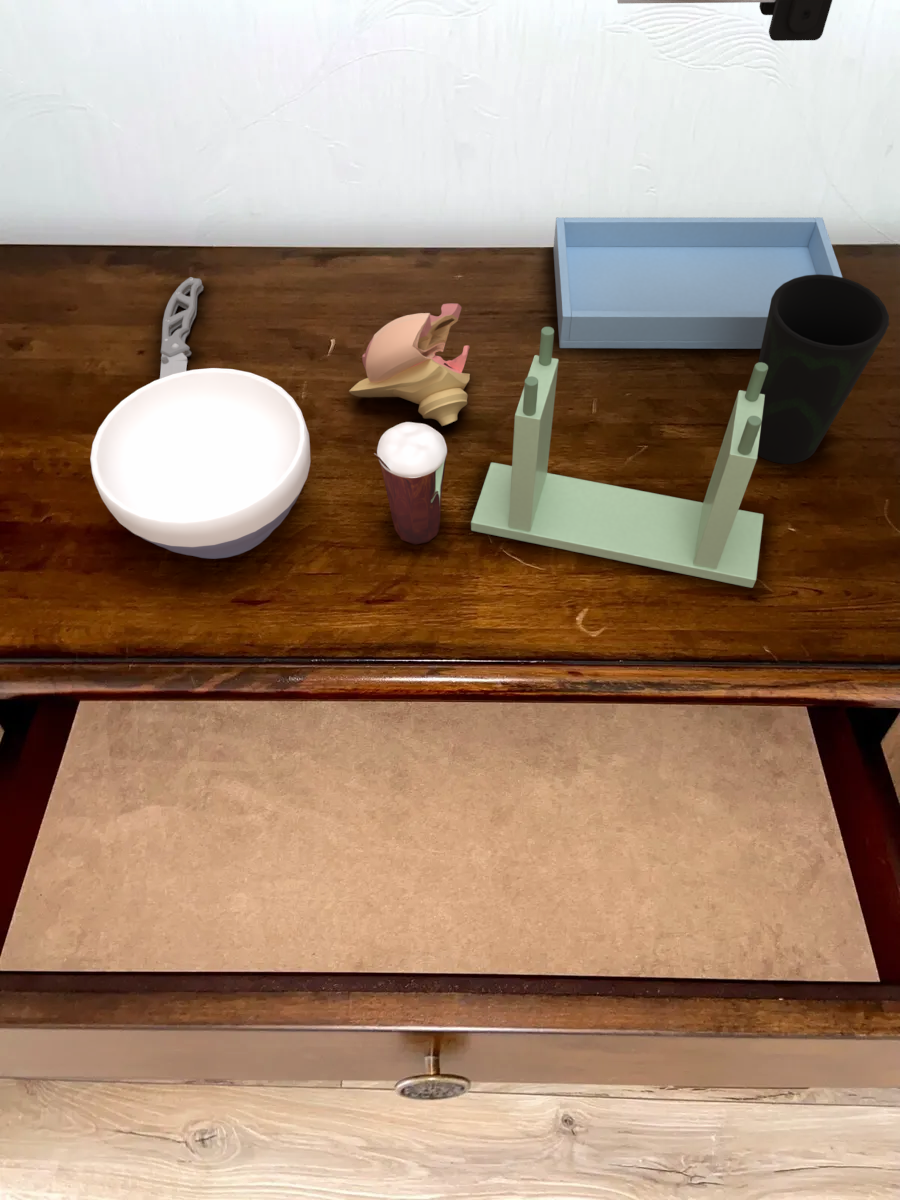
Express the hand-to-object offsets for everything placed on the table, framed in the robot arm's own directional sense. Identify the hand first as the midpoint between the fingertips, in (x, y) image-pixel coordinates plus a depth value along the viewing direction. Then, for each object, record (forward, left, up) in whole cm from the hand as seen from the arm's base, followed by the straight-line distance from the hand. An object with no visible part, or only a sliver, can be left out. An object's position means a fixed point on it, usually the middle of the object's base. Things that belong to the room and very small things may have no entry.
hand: (789, 22), depth 59 cm
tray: (+2, -4, -25) cm, 25 cm away
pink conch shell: (+22, +14, -25) cm, 36 cm away
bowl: (+32, +29, -25) cm, 50 cm away
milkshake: (+18, +27, -25) cm, 40 cm away
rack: (+4, +23, -25) cm, 34 cm away
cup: (-7, +11, -25) cm, 28 cm away
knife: (+42, +13, -25) cm, 51 cm away
